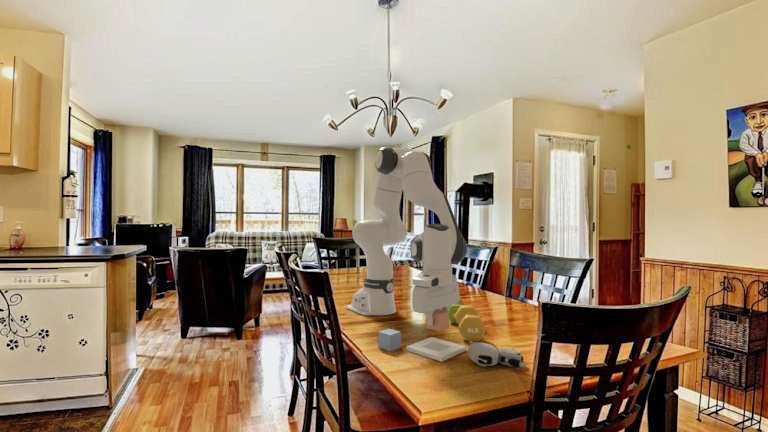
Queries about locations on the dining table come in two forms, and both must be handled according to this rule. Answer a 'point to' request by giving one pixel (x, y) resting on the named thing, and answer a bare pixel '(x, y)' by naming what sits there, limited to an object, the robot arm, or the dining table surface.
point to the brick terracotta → (439, 320)
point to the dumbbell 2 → (470, 323)
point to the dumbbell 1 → (454, 311)
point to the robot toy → (494, 355)
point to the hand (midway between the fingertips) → (437, 322)
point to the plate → (436, 349)
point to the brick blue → (389, 339)
